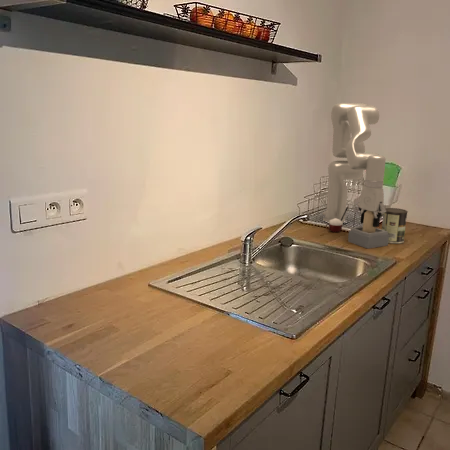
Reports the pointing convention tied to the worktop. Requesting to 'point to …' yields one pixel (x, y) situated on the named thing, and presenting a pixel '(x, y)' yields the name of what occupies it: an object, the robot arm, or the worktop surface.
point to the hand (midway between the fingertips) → (369, 224)
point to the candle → (368, 222)
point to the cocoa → (336, 224)
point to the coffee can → (395, 224)
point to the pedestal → (368, 238)
